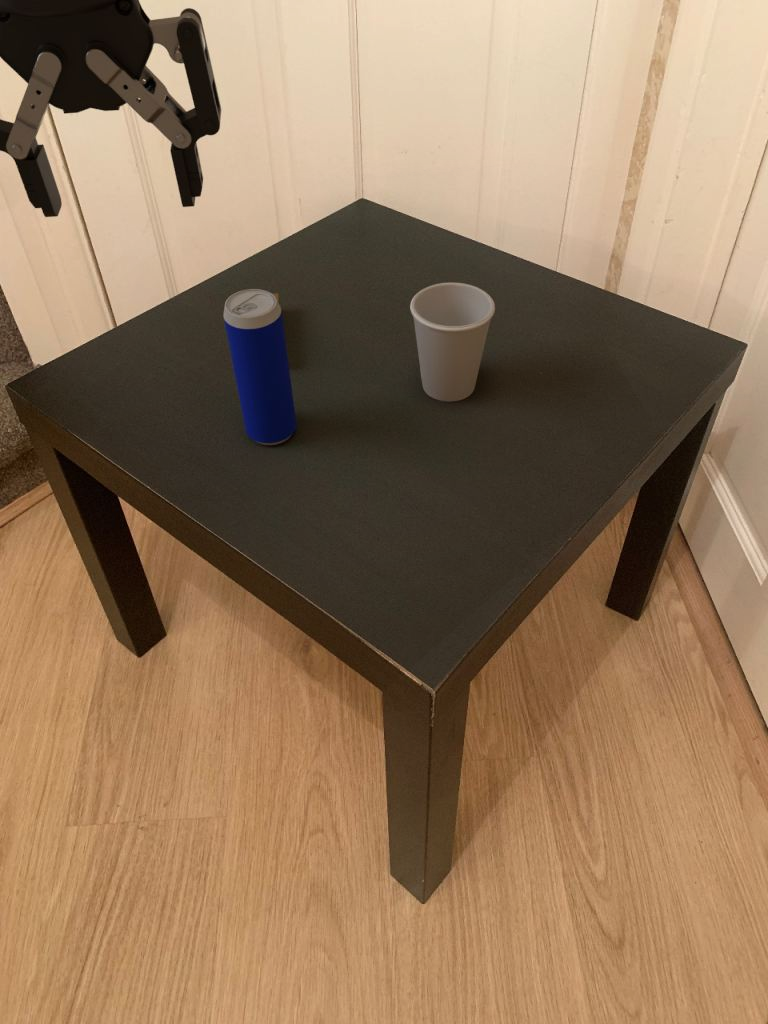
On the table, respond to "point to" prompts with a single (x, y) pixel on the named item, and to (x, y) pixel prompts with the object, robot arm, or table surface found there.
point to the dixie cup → (451, 337)
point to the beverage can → (260, 365)
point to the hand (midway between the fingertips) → (121, 206)
